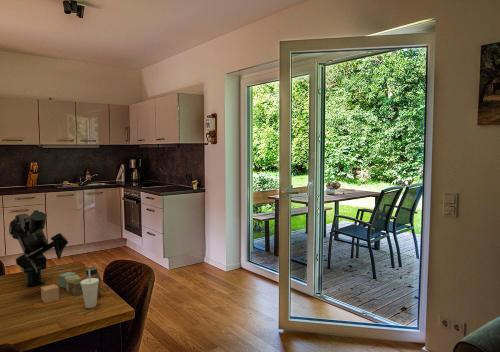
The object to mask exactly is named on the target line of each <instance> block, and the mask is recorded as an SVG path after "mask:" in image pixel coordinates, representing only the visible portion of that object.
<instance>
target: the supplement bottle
mask: <svg viewBox="0 0 500 352" xmlns="http://www.w3.org/2000/svg"><path fill="white" fill-rule="evenodd" d="M85 269H86V270H85V271H86V273H85V274H84V275H83V280H85V279H89V271H88V270H90V278H97V279H99V283H98V291H97V298H99V297H100V296H101V294H102V293H101V274H100V273H99V272H98V268H97V267H95V266H93V267H88V268H85Z"/></svg>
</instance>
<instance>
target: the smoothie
mask: <svg viewBox="0 0 500 352" xmlns="http://www.w3.org/2000/svg"><path fill="white" fill-rule="evenodd" d="M88 271H89V279H85V280H84V279H83V280H82V281H81V282H80V283H81V284H80V285H81V286H82V291H83V294H82V295H83V301H84V306H85V307H84V308H86V309H94V308H96V307H97V302H98V301H97V299H98V297H97V291H98V283H99V279H97V278H90V270H88Z"/></svg>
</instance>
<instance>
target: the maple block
mask: <svg viewBox="0 0 500 352" xmlns="http://www.w3.org/2000/svg"><path fill="white" fill-rule="evenodd" d="M80 278H81V277H80V276H79V274H77V275H75V276H69V277H65V286H66V288H65V291H66V293H69V287H68V282H70V281H73V280H76V279H80Z"/></svg>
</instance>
